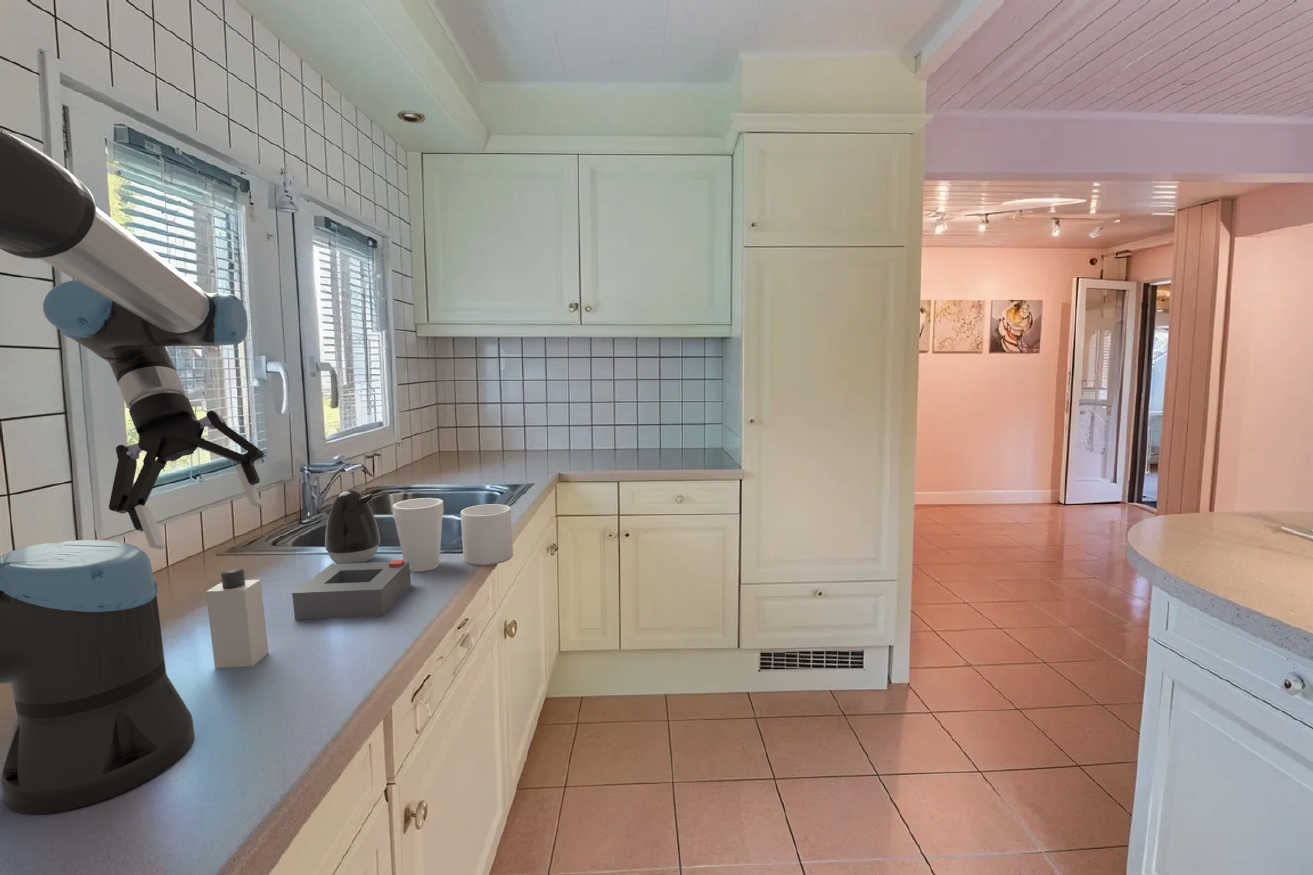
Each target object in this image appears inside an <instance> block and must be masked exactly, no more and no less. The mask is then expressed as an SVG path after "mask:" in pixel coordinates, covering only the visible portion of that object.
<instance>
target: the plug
mask: <svg viewBox="0 0 1313 875" xmlns="http://www.w3.org/2000/svg"><path fill="white" fill-rule="evenodd" d="M244 569H245V568H242V567H241V568H238V567H237V568H230V569H227V570H224V571H222V572H221V573H220V578H221V582H220V583H218V584H216V585H215V586H213V587H211V588H209V589H208V590H205V596H206V603H207V612H208V620H209V621H208V622H209V629H210V630H209V631H210V637H211V646H212V655H213V663H214V664H213V665H214V669H226V668H227V669H228V668H229V669H230V668H247V667H249V668H250V667H251V668H252V667H254V666H255V665H256V664H257V663H258V662H260V661H261V660H262V659H263V658H264V657H266V656H267V655H268V654H269V646H268V636H267V628H266V627H267V626H266V618H265V617H266V616H265V608H264V606H265V605H264V598H263V589H262V580H261V579H245V571H244Z"/></svg>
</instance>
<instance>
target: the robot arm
mask: <svg viewBox="0 0 1313 875" xmlns="http://www.w3.org/2000/svg"><path fill="white" fill-rule="evenodd" d="M0 250H1V251H4V252H6V253H7V254H9V255H10V254H11V255H12V256H15V257H18V258H21V259H22V258H23V259H29V260H30V259H31V260H40V261H43V262H45V263H46V264H48V265H49V266H51V267H53V268H55V269H57V270H58V271H60V272H61V273H64V274H65V275H67V276H69V277H70V278H71V280H66V281H64V282H60V283H58V284H57V285H56V286H54V287H53V288H51V289H50V290H49V291H48V293H47V294H46V295H45V296H44V297H45V298H44V300H43V303H42V309H43V310H42V311H43V315H44V316H45V318H46V319H47V321H48V322H49V323H50V324H52V325H53V326H54V327H56V328H57V329H58V330H59V331H60V332H62V334H63V335H65V337H67V338H70V339H71V340H73V341H74V342H76V343H77V344H80V345H82V346H83V347H85V348H87V349H89V351H91V352H93V353H94V354H96V355H97V356H99V357H100V358H101V359H103V360H105V361H106V362H107V363H108V364H109V366H110V368H111V370H112V373H113V376H114V378H115V380H116V382H117V386H118V387H119V391H120V393H121V395H122V398H123V400H124V403H125V406H126V408H127V409H128V413H129V415H130V416H129V417H130V418H131V421H132V423H133V425H134V428H135V430H136V433H137V435H138V442H137V443H133V444H130V445H124V444H118V445H117V446H116V448H115V453H116V457H117V464H116V469H115V473H114V479H113V483H112V489H111V494H110V499H109V504H108V509H109V511H113V512H115V513H118V514H126V513H128V515H129V518H130V521H131V523H132V525H133V528H134V529H135V530H137V531H140V532H143V533H144V535H145V538H146V541H147V543H148V546H149V548H152V549H157V550H163V549H165V548H166V545H165V544H166V543H165V542H164V539H163V536H162V534H161V531H160V528H159V526H158V524H157V521H156V519H155V516H154V514H153V511H152V508H151V507H148V506H145V505H146V503H147V501H148V499H149V497H150V495H151V493H152V491H153V488H154V486H155V484H156V481H157V480H158V478H159V476H160V474H161V471H162V470H164V469H165V468H166V466H167V463H168V462H169V461H170V462H172V463H173V462H175V461H177V460H179V459H181V458H182V457H186V456H190V455H193V454H195V451H196V450H197V449H198V448H199V449H200V450H204V451H207V452H210V453H212V454H215V455H217V456H220V457H222V458H225V459H227V460H230V461H232V462H234V463H237V464H236V465H234V469H235V471H236V473H237V476H238V477H239V480H240V482H241V485H242V487H243V490H244V492H245V495H246V497H247V499H248V502H249V504H250V505H251V506H254V507H255V508H259V507H262V506H263V502H262V500H261V498H260V495H259V493H258V491H257V489H256V487H255V485H257V484H260V477H259V474H258V472H257V469H256V468H255V462H256V461H257V460H258V459H261V458H263V456H264V454H265V453H264V452H263V451H262V450H261V449H259V447H257V446H255V444H253V443H251V442H250V441H249V440H248V439H246V438H245V437H243V436H242V435H240V434H239V433H237V431H235V430H234V429H232V428H231V427H229V426H228V425H227V423H226V422H225V420H224V418H223V416H222V415H220V414H219V413H218V412H216V411H214V410H209V411H207V413H206V416H204V417H202V418H200V419H197V417H196V414H195V411H194V409H193V406H192V404H191V402H190V399H189V397H188V396H187V393H186V391H185V390H186V389H185V388H184V386H183V382H182V381H181V378H180V376H179V373H178V372H177V368H176V367H175V365H174V362H173V359H172V357H171V354H170V351H169V350H168V347H215V348H216V347H217V348H218V347H220V346H234V345H239V344H241V343H242V342H243V341H244V340H245V338H246V337H247V334H248V315H247V312H246V308H245V304H243V302H242V300H241V298H239V296H237V295H235V294H233V293H220V292H217V291H216V292H212V293H209V292H206V291H204V290H203V289H202V288H200V287H199V285H197V284H196V283H194V282H193V281H192V280H191V279H189V278H188V277H187V276H185V275H184V274H183V273H181V272H180V271H179V270H178V269H176V268H175V267H174V266H172V265H171V264H170V263H169V262H167V261H166V260H165V259H164V258H162V257H161V256H160V255H159V254H157V253H156V252H154V251H153V250H152V249H151V248H149V247H148V246H147V245H145V243H144V242H142V241H141V240H139V239H138V238H136V236H134V235H133V234H132V233H131V232H129V231H128V230H127V229H125V228H124V227H123V226H121V225H120V224H119V223H118V222H117V221H115V220H114V219H112V218H111V217H110V216H109V215H107V214H106V213H105V212H104V211H102V210H101V209H99V208H98V207H97V205H96V200H95V198H94V196H93V194H92V193H91V190H89V188H88V187H87V186H86V185H85V184H84V182H82V181H81V180H80V179H78V178H77V177H76V176H74V175H73V174H72V173H71V172H70V171H69V170H68V169H66V168H64V166H62V165H60V164H59V163H58V162H56V161H55V160H53V159H52V158H51V157H49V156H48V155H47V154H46V153H44V152H42V151H41V150H39V149H38V148H36V147H35V146H32V145H31V144H29V143H28V142H26V141H24V140H22V139H20V138H19V137H17V136H14V135H13V134H11V133H9V132H7V131H6V130H4V129H2V128H0ZM205 428H209V429H211V430H218V431H219V432H221V434H223V435H224V436H226V437H227V438H229V439H230V440H231V441H233V442H234V443H235V444H237V445H238V446H239V447H241V448H242V449H244V450H245V451H246V452H245V453H244V454H243V453H239V452H237V451H235V450H232V449H229V448H227V447H225V446H222V445H219V444H217V443H215V442H212V441H210V440H208V439H204V438H202V437H203V432H204V431H205ZM143 451H144V452H146V454H145V456H144V458H143V461H142V463H143V465H142V467H141V469H140V471H139V473H138V476H137V477H136V472H137V465H138V464H137V463H138V462H137V461H138V459H140V453H141V452H143ZM135 477H136V478H135ZM158 590H159V589H158V583H157V582H156V580H155V575H154V572H153V567H152V562H151V560H150V557H149V556H148V554H147V553H146V552H145V551H143V550H142V549H141V548H140V547H138V546H136V545H135V544H134V545H133V544H130V543H127V542H123V541H115V540H106V539H105V540H103V539H79V540H78V539H77V540H76V539H75V540H74V539H73V540H65V541H61V542H55V543H54V542H46V543H39V544H34V545H29V546H25V547H20V548H17V549H15V550H14V549H13V550H11V551H9V552H7V553H3V554H2V555H1V556H0V684H1V685H2V684H3V685H4V684H11V689H12V695H13V698H14V704H15V705H14V706H15V713H16V720H15V726H14V728H13V732H12V736H11V740H10V744H9V746H8V749H7V753H6V758H5V761H4V765H3V769H2V772H1V779H0V784H1V790H2V796H3V802H4V804H5V806H6V807H7V808H8V809H10V810H12V811H15V812H17V813H21V814H35V815H36V814H38V815H39V814H52V813H59V812H64V811H70V810H74V809H77V808H82V807H85V806H88V805H89V806H90V805H92V804H95V803H98V802H101V801H105V800H107V799H110V798H113V797H116V796H118V795H121V794H124V793H126V792H127V791H130V790H132V789H134V788H136V787H138V786H140V785H142V784H144V783H146V782H148V781H149V780H152V779H154V778H155V777H157V776H158V775H160V774H161V773H163V772H165V771H166V770H167V769H169V768H170V767H172V766H173V765H174V764H176V763H177V762H178V761H179V760H180V759H182V757H183V756H184V755H186V753H187V752H188V751H189V750H190V748H191V746H192V745H193V742H194V741H195V728H194V719H193V716H192V714H191V712H190V710H189V709H188V707H187V705H186V704H185V701H183V698H182V697H181V696H180V694H179V692H178V691H177V689H176V687H175V686H174V685H173V684H174V683H172V681H171V680H170V677H168V674H167V668H166V662H165V654H164V653H165V652H164V642H163V636H162V626H161V619H160V611H159V603H158V595H157V594H158Z"/></svg>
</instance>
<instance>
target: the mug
mask: <svg viewBox="0 0 1313 875" xmlns="http://www.w3.org/2000/svg"><path fill="white" fill-rule="evenodd" d="M511 510H512V509H511V506H509V505H507V504H500V503H499V504H498V503H490V504H478V505H472V506H469V507H465V508H463V509H462V510H461V511H460V523H461V524H460V527H461V539H462V540H461V541H462V555H463V557H462V558H463V561H464V562H465V563H466V564H468V565H471V566H478V567H479V566H480V567H481V566H482V567H483V566H485V567H486V566H492V565H498V564H501V563H502V564H503V563H506V562H508V561H509V560H511V559H512V557H514V551H513V550H514V548H513V546H514V545H513V530H512V526H513V525H512V512H511Z"/></svg>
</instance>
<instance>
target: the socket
mask: <svg viewBox="0 0 1313 875" xmlns="http://www.w3.org/2000/svg"><path fill="white" fill-rule="evenodd" d="M411 585H412V583H411V571H410V567H409V561H404V559H393V560H392V561H382V562H381V561H380V562H379V561H378V562H366V563H352V564H337V563H331V564H329V565H328V566H327V567H325V568H324V569H323V570H322V571H320V572H318V574H315V575H314V576H313V577H312V578H310V579H309V580H308V581H306V582H305V583H304V584H302V585H301V586H299V587H298V588H297V589H295V590H294V591H293V592H292V594H291V595H292V605H293V614H294V615H293V616H294V620H296V621H297V620H313V619H317V620H320V619H339V618H342V619H343V618H364V617H384V616H385V615H386V613H387V612H388V611H389V610H390V609H391V608H392V607H393V606H394V605H395V603H396V602H397V601H398V600H399V598H401V597H402V595H403V594H404V593H405V592H406V591H407V590H408V589H409V587H410V586H411Z"/></svg>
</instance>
